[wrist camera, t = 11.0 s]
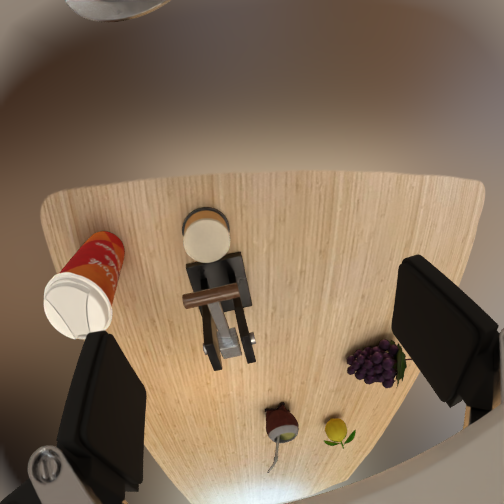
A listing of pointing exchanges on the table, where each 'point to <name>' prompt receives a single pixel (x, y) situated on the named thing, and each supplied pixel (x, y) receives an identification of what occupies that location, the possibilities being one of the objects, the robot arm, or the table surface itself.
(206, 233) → the cake
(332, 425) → the lemon
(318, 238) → the table surface
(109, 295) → the coffee cup
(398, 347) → the fruit
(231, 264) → the lever base stand
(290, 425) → the mate gourd
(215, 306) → the lever
